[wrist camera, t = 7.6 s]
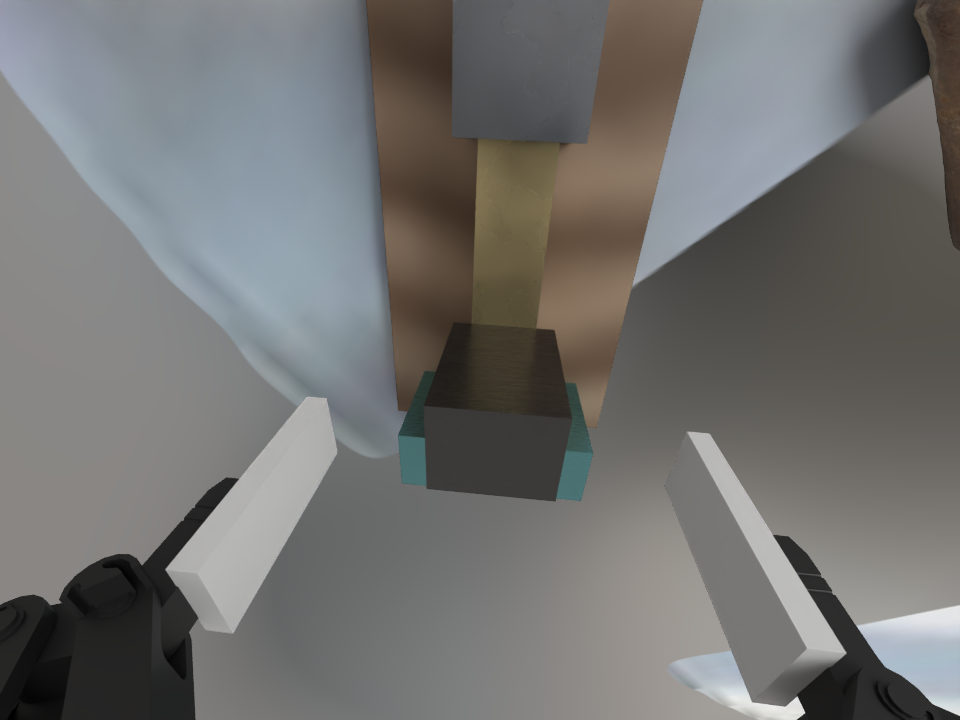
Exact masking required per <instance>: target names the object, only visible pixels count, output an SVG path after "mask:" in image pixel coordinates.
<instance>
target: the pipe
mask: <svg viewBox="0 0 960 720" xmlns="http://www.w3.org/2000/svg"><path fill="white" fill-rule="evenodd" d="M914 17H915V19H916V20H917V22H918V23H919V25H920V27H921V31H922V34H923V36H924V38H925V41H926V43H927V47H928V53H929V59H930V70H929V76H930V78H931V79H932V86H933V93H934V98H935V105H936V113H937V122H938V126H939V131H940V141H941V146H942V153H943V164H944V171H945V190H946V203H947V212H948V222H949V229H950V234H951V239H952V243H953V245H954V246H955V248H957V249H958V250H960V0H918V2H917V4H916V6H915V10H914Z"/></svg>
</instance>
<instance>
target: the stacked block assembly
mask: <svg viewBox="0 0 960 720" xmlns="http://www.w3.org/2000/svg"><path fill="white" fill-rule="evenodd" d="M609 2H610V0H453V45H452V137H455V138H464V139H498V140H518V141H538V142H559V143H563V144H587V141H588V134H589V128H590V122H591V115H592V109H593V103H594V96H595V90H596V84H597V77H598V71H599V65H600V58H601V52H602V46H603V40H604V33H605V27H606V21H607V14H608V8H609ZM435 373H436V372H431V371H424V374H423V376H422V378H421V381H420V383H419V386H418V388H417V391H416V393H415V396H414V398H413V400H412V403H411V405H410V408H409V410H408V413H407V415H406V417H405V420H404V422H403V425H402V427H401V430H400V432H399V435H398V440H399V453H400V465H401V477H402V483H403V484H414V485H424V486H427V485H426V458H425V431H424V403H425V401H426V398H427V395H428V392H429V389H430V387H431V384H432V381H433V378H434V375H435ZM565 384H566V389H567V394H568V399H569V404H570V409H571V414H572V424H571V429H570V433H569V438H568V443H567V448H566V453H565V458H564V463H563V467H562V472H561V477H560V482H559V487H558V492H557V497H556V499H567V500H577V501H581V499H582V495H583V491H584V487H585V483H586V479H587V476H588V471H589V467H590V463H591V460H592V455H593V451H592V447H591V443H590V439H589V435H588V431H587V426H586V422H585V418H584V414H583V410H582V406H581V402H580V398H579V394H578V390H577V385H576V383H565Z"/></svg>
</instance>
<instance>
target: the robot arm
mask: <svg viewBox="0 0 960 720" xmlns="http://www.w3.org/2000/svg"><path fill="white" fill-rule="evenodd" d="M337 453H338V452H337V447H336V442H335V437H334V432H333V427H332V422H331V417H330V412H329V408H328V403H327V398H317V397H306V398H305V399H304V401H303V402H302V403H301V404H300V405H299V407H298V408H297V409H296V410H295V412H294V413H293V414H292V415H291V417H290V418H289V419H288V420H287V422H286V423H285V424H284V425H283V426H282V427H281V429H280V430H279V431H278V432H277V434H276V435H275V436H274V437H273V439H272V440H271V441H270V442H269V444H268V445H267V446H266V447H265V448H264V449H263V451H262V452H261V453H260V454H259V456H258V457H257V458H256V459H255V460H254V462H253V463H252V464H251V465H250V467H249V468H248V469H247V470H246V472H245V473H244V474H243V475H242V476H241V478H240V479H236V478H225V479H224V480H222V481H221V482H219V483H218V484H217V485H215V486H214V487H212V488H211V489H209V490H208V491H207V493H206V494H205V495H204V496H203V497H202V498H201V499H200V500H199V502H198V503H197V504H196V505H195V508H192V510H191V511H190V512H189V513H188V514H187V515H186V516H185V518H184V521H181V522H180V523H179V524H178V525H177V527H176V528H175V529H174V530H173V531H172V532H171V534H170V535H169V536H168V537H167V538H166V539H165V540H164V541H163V543H162V544H161V545H160V546H159V547H158V548H157V549H156V550H155V552H154V553H153V554H152V555H151V556H150V557H149V558H148V560H147V561H146V562H145V563H144V564H143V565H141V564H140V563H139V561H138V560H137V558H135V557H133V556H131V555H130V554H117V555H113V556H110V557H106V558H103V559H101V560H99V561H97V562H96V563H93V564H91V565H90V566H88V567H87V568H85V569H84V570H83V571H81V572H80V573H79V574H77V575H76V576H75V577H74V578H73V579H72V580H71V581H70V582H69V583H68V585H67V586H66V587H65V588H64V590H63V592H62V594H61V596H60V599H59V600H60V601H61V602H62V603H60V604H56V605H49V603H48V602H47V601H46V600H44V598H42V597H39V596H36V595H28V596H21V597H18V598H15V599H13V600H10V601H8V602H5V603H3V604H1V605H0V720H195V702H194V682H193V661H192V642H191V637H190V634H189V631H190V630H191V628H192V627H193V625H194V623H195V622H196V621H197V619H198V620H199V621H200V623H201V624H202V626H203V627H204V629H205V630H210V631H218V632H226V633H233V632H234V631H235V629H236V628H237V626H238V624H239V622H240V621H241V619H242V617H243V615H244V614H245V612H246V610H247V608H248V607H249V605H250V603H251V601H252V600H253V598H254V596H255V595H256V593H257V591H258V589H259V587H260V586H261V584H262V583H263V581H264V579H265V577H266V576H267V574H268V572H269V570H270V568H271V567H272V565H273V563H274V562H275V560H276V558H277V557H278V555H279V553H280V551H281V549H282V548H283V546H284V544H285V543H286V541H287V539H288V537H289V536H290V534H291V532H292V531H293V529H294V527H295V525H296V524H297V522H298V520H299V518H300V516H301V515H302V513H303V512H304V510H305V508H306V506H307V505H308V503H309V501H310V499H311V498H312V496H313V494H314V492H315V491H316V489H317V487H318V486H319V484H320V482H321V480H322V479H323V477H324V475H325V473H326V472H327V470H328V468H329V467H330V465H331V463H332V461H333V460H334V458H335V456H336V454H337ZM665 488H666V490H667V493H668V495H669V498H670V500H671V502H672V505H673V508H674V510H675V513H676V515H677V518H678V520H679V522H680V525H681V527H682V530H683V532H684V534H685V537H686V540H687V542H688V544H689V547H690V549H691V552H692V555H693V557H694V559H695V562H696V564H697V567H698V569H699V572H700V574H701V577H702V579H703V582H704V584H705V587H706V589H707V592H708V594H709V596H710V599H711V601H712V604H713V606H714V609H715V611H716V614H717V616H718V619H719V621H720V624H721V626H722V629H723V631H724V634H725V636H726V638H727V641H728V643H729V646H730V648H731V651H732V653H733V656H734V658H735V661H736V663H737V666H738V668H739V671H740V673H741V675H742V678H743V680H744V683H745V685H746V688H747V690H748V693H749V695H750V698H751V700H752V702H755V703H762V704H770V705H778V706H787V705H788V704H789V703H790V702H791V701H792V700H793V699H795V698H796V697H797V696H798V698H799V700H800V702H801V704H802V706H803V709H804V711H805V714H804V715H802V716H801V717H800V718H798V719H797V720H960V716H958V715H956V714H954V713H951V712H949V711H947V710H944V709H942V708H940V707H937V706H935V705H933V704H932V703H931V702H930V701H929V700H928V699H927V698H926V697H925V696H924V695H923V694H922V693H921V691H920V690H919V689H918V688H916V687H915V686H914V685H912V684H911V683H910V682H909V681H907V680H906V679H905V678H903V677H902V676H901V675H899V674H897V673H895V672H893V671H891V670H889V669H887V668H885V666H884V665H883V664H882V663H881V661H880V660H879V659H878V657H877V656H876V654H875V653H874V651H873V650H872V649H871V647H870V646H869V644H868V643H867V641H866V640H865V638H864V637H863V635H862V634H861V632H860V631H859V629H858V628H857V626H856V625H855V624H854V622H853V621H852V619H851V618H850V616H849V615H848V613H847V612H846V610H845V609H844V607H843V606H842V604H841V603H840V601H839V600H838V598H837V597H836V596H835V595H833V594H832V590H831V588H830V587H829V585H828V584H827V582H826V581H825V579H824V578H822V577H821V573H820V572H819V570H818V569H817V568H816V566H815V565H814V563H813V562H812V560H811V559H810V557H809V556H808V555H807V553H806V552H804V551H803V550H802V549H801V548H800V547H799V546H798V545H797V544H796V543H795V542H794V541H793V540H792V539H790V538H789V537H788V536H779V535H772V533H771V532H770V530H769V529H768V527H767V525H766V524H765V522H764V520H763V519H762V517H761V516H760V514H759V512H758V511H757V509H756V508H755V506H754V504H753V503H752V501H751V500H750V498H749V497H748V495H747V493H746V492H745V490H744V488H743V487H742V485H741V484H740V482H739V481H738V479H737V477H736V476H735V474H734V472H733V471H732V469H731V468H730V466H729V464H728V463H727V461H726V460H725V458H724V456H723V455H722V453H721V452H720V450H719V448H718V447H717V446H716V444H715V442H714V441H713V439H712V437H711V436H710V434H707V433H696V432H687V433H686V436H685V438H684V440H683V443H682V445H681V447H680V450H679V452H678V454H677V457H676V459H675V461H674V464H673V466H672V469H671V471H670V473H669V476H668V478H667V481H666V483H665Z"/></svg>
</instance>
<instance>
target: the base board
mask: <svg viewBox="0 0 960 720" xmlns="http://www.w3.org/2000/svg"><path fill="white" fill-rule="evenodd" d="M702 3H703V0H610V2H609V8H608V14H607V21H606V27H605V33H604V40H603V46H602V52H601V58H600V65H599V71H598V77H597V84H596V90H595V96H594V103H593V109H592V115H591V122H590V128H589V134H588V141H587V144H563V143H560V146H559V154H558V162H557V170H556V178H555V185H554V193H553V201H552V209H551V217H550V225H549V232H548V240H547V248H546V256H545V264H544V272H543V279H542V287H541V295H540V303H539V311H538V319H537V326H536V328H537V329H550V330H555V334H556V339H557V344H558V349H559V354H560V359H561V364H562V369H563V374H564V379H565V383H576V385H577V390H578V394H579V398H580V402H581V406H582V410H583V414H584V418H585V422H586V426H587V427H592V428H596V427H597V424H598V420H599V416H600V412H601V408H602V404H603V400H604V396H605V392H606V388H607V384H608V380H609V376H610V372H611V368H612V364H613V360H614V356H615V352H616V348H617V344H618V340H619V336H620V332H621V328H622V324H623V319H624V316H625V312H626V307H627V304H628V300H629V296H630V291H631V288H632V284H633V280H634V276H635V272H636V268H637V264H638V260H639V256H640V252H641V248H642V244H643V240H644V236H645V231H646V227H647V223H648V219H649V215H650V211H651V207H652V203H653V199H654V195H655V191H656V187H657V183H658V179H659V175H660V171H661V167H662V163H663V159H664V155H665V151H666V147H667V143H668V139H669V135H670V131H671V127H672V123H673V119H674V115H675V111H676V107H677V103H678V99H679V95H680V91H681V87H682V83H683V79H684V75H685V71H686V67H687V63H688V59H689V55H690V51H691V47H692V43H693V39H694V35H695V31H696V27H697V23H698V19H699V15H700V11H701V7H702ZM366 4H367V17H368V30H369V42H370V55H371V68H372V81H373V94H374V106H375V119H376V132H377V145H378V157H379V170H380V183H381V196H382V208H383V221H384V234H385V247H386V260H387V272H388V285H389V298H390V311H391V323H392V336H393V349H394V362H395V375H396V387H397V400H398V411H408V410H409V408H410V405H411V403H412V400H413V398H414V396H415V393H416V391H417V388H418V386H419V383H420V381H421V378H422V376H423V374H424V371H431V372H436V370H437V367H438V364H439V362H440V359H441V356H442V353H443V350H444V348H445V345H446V342H447V339H448V336H449V334H450V331H451V328H452V325H453V322H457V323H470V324H472V297H473V269H474V240H475V212H476V183H477V155H478V139H464V138H455V137H452V45H453V0H366Z"/></svg>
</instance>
